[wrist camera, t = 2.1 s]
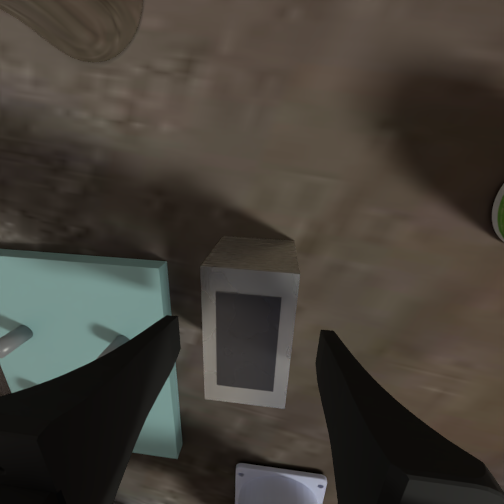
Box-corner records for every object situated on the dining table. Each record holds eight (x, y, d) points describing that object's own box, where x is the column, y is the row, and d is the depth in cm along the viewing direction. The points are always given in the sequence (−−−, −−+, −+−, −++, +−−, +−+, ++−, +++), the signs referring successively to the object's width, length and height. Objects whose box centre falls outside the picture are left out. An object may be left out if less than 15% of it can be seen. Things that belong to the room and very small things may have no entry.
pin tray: (182, 444, 23) (167, 487, 20) (40, 424, 24) (6, 462, 21) (166, 261, 17) (142, 283, 14) (-24, 246, 18) (-84, 264, 15)
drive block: (283, 345, 18) (284, 409, 14) (223, 339, 19) (204, 400, 14) (294, 239, 16) (300, 274, 11) (223, 235, 16) (199, 266, 11)
